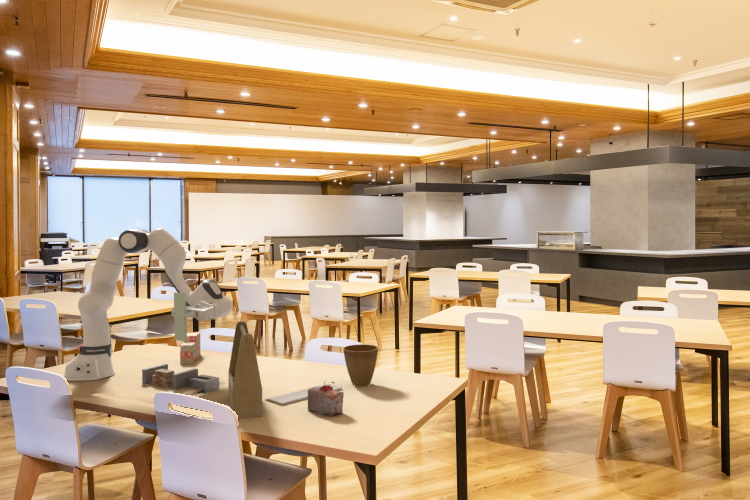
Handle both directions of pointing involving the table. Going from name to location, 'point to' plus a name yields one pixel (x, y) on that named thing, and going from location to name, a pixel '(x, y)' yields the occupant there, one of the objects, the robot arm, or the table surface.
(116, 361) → the table surface
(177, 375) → the offcut rack
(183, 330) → the tall panel
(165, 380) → the offcut stack
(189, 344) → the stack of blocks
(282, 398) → the baseboard molding
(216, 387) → the steel holder
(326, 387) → the food item
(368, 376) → the plant pot
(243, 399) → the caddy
